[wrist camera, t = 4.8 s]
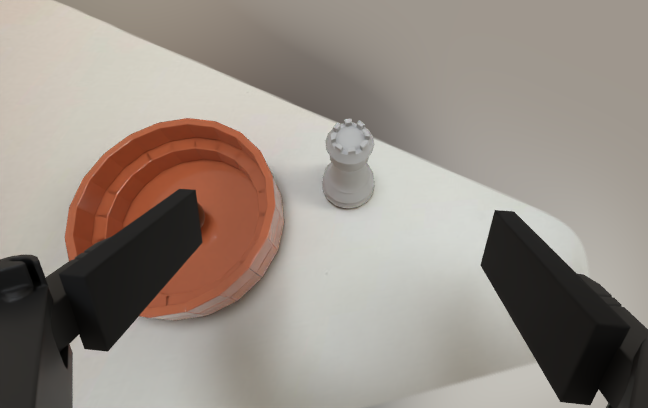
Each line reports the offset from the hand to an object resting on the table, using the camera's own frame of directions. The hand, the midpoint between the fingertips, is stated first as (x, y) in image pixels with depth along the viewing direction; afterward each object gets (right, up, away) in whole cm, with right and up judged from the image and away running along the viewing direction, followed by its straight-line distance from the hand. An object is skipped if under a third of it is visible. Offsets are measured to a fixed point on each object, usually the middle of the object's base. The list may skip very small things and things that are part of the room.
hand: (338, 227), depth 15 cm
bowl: (-12, -1, +13) cm, 18 cm away
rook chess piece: (+1, +3, +14) cm, 15 cm away
